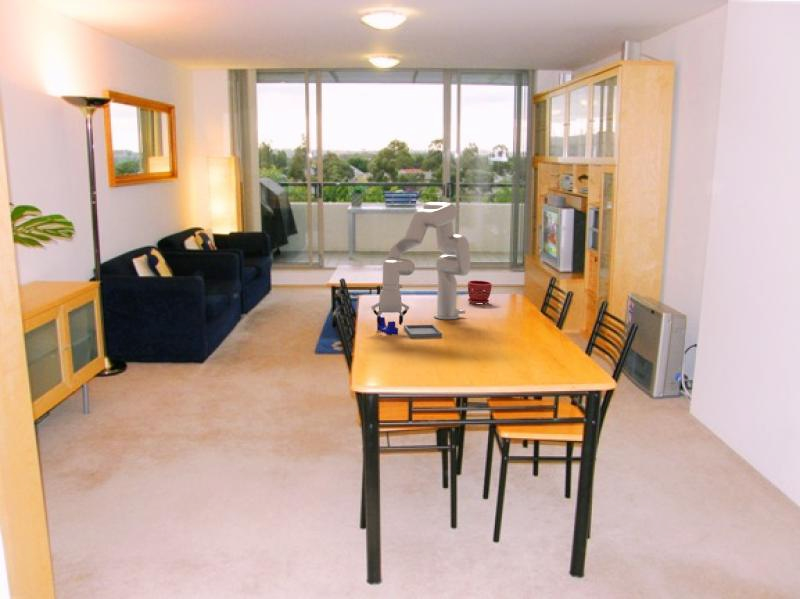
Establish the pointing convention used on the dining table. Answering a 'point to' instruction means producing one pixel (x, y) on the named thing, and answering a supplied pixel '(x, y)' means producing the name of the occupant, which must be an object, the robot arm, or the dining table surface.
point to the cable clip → (387, 327)
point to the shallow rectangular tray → (422, 331)
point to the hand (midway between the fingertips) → (389, 324)
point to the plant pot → (479, 291)
